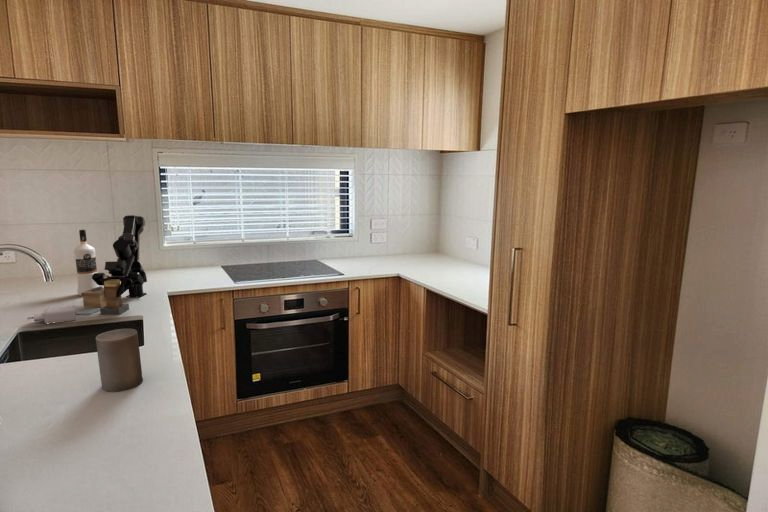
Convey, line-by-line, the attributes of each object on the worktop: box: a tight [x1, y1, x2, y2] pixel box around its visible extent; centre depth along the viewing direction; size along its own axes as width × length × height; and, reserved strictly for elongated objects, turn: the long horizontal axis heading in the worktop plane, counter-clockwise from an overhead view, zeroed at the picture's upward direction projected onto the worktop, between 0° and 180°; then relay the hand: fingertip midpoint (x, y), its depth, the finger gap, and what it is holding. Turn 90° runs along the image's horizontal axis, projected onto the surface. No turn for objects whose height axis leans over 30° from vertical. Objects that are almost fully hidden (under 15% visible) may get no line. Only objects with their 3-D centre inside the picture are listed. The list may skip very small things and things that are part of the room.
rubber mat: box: [75, 307, 100, 315], centre depth 198 cm, size 8×8×1 cm
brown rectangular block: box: [103, 279, 123, 308], centre depth 196 cm, size 4×4×13 cm
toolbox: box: [80, 285, 107, 308], centre depth 207 cm, size 10×8×8 cm
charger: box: [26, 304, 77, 324], centre depth 186 cm, size 5×9×15 cm
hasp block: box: [99, 303, 130, 316], centre depth 197 cm, size 7×7×2 cm
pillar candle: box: [95, 328, 144, 393], centre depth 128 cm, size 10×10×15 cm
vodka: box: [73, 229, 100, 297], centre depth 225 cm, size 9×9×30 cm
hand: (111, 296), depth 195 cm, fingers open, 4 cm apart
